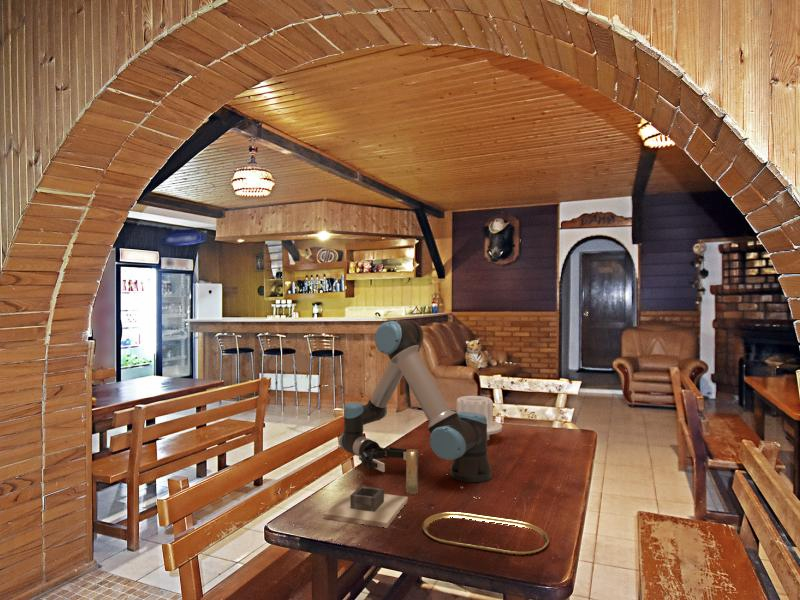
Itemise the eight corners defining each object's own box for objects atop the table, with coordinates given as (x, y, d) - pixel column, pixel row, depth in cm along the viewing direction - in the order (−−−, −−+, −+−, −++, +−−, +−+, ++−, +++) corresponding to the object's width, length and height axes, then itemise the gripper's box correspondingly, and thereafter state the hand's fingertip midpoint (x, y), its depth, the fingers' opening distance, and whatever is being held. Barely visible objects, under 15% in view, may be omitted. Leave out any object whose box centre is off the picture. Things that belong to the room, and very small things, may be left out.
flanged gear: (513, 439, 237) (513, 398, 237) (479, 451, 220) (479, 407, 220) (470, 429, 255) (470, 391, 255) (436, 439, 238) (436, 398, 238)
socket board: (407, 501, 167) (407, 484, 167) (386, 528, 148) (386, 509, 148) (350, 494, 173) (350, 477, 173) (323, 518, 154) (323, 500, 154)
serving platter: (546, 563, 130) (546, 557, 130) (413, 541, 141) (413, 535, 141) (550, 531, 147) (550, 525, 147) (432, 513, 159) (432, 508, 159)
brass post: (419, 490, 176) (419, 449, 176) (416, 495, 172) (416, 453, 172) (408, 489, 178) (408, 448, 177) (404, 493, 174) (404, 452, 174)
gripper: (393, 453, 205) (427, 467, 187) (338, 465, 190) (369, 482, 173) (393, 434, 204) (427, 446, 187) (338, 445, 190) (369, 460, 173)
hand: (399, 464), depth 180 cm, fingers open, 13 cm apart
